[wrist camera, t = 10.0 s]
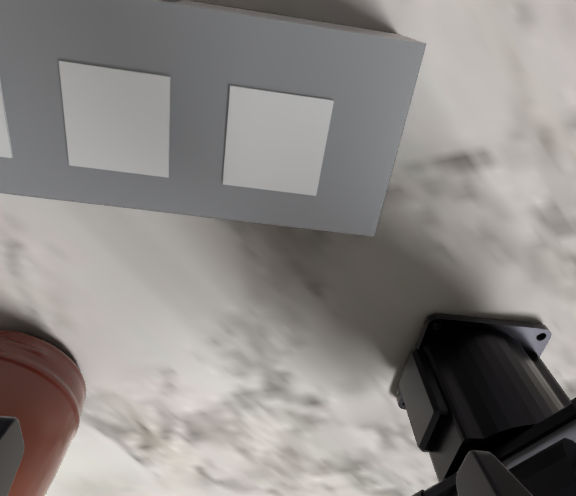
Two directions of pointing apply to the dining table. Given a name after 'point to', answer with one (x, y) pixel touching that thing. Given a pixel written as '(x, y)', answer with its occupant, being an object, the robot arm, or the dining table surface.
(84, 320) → the dining table surface
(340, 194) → the power strip
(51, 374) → the mug
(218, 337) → the dining table surface
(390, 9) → the dining table surface
